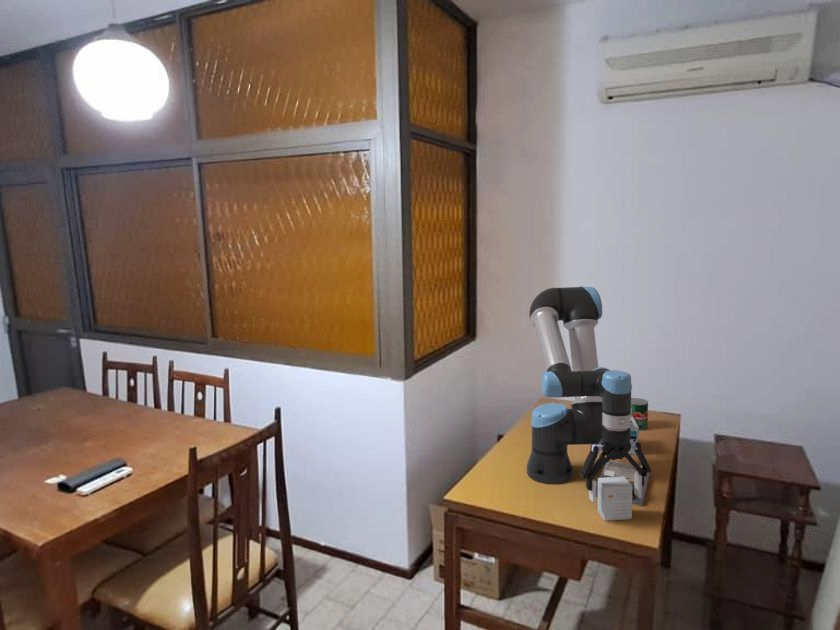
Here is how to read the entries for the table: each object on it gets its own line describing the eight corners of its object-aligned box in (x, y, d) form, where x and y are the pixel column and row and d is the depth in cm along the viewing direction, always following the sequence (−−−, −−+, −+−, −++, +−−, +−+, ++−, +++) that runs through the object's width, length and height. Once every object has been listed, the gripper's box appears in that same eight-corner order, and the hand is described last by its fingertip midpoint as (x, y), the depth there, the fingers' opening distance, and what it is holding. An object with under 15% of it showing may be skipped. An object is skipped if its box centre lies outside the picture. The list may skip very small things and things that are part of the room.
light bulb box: (638, 455, 190) (639, 426, 188) (618, 454, 191) (619, 426, 189) (633, 443, 200) (633, 415, 198) (614, 442, 201) (614, 415, 199)
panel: (642, 506, 157) (642, 493, 156) (593, 496, 163) (593, 484, 163) (649, 473, 176) (650, 462, 175) (605, 466, 182) (605, 455, 182)
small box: (623, 509, 155) (624, 475, 154) (632, 519, 150) (633, 485, 148) (596, 510, 155) (597, 477, 153) (604, 521, 150) (604, 486, 148)
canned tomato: (633, 422, 220) (634, 396, 218) (651, 427, 214) (652, 401, 212) (622, 426, 216) (623, 400, 214) (640, 432, 209) (640, 405, 207)
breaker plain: (611, 491, 163) (611, 486, 162) (601, 489, 164) (601, 484, 163) (615, 476, 168) (615, 471, 167) (605, 474, 170) (605, 469, 169)
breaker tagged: (636, 490, 159) (636, 484, 159) (625, 488, 160) (625, 482, 160) (638, 486, 165) (639, 480, 165) (628, 484, 166) (628, 478, 166)
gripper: (578, 435, 143) (578, 508, 146) (666, 427, 146) (663, 500, 149) (567, 425, 150) (567, 495, 154) (651, 418, 153) (649, 487, 156)
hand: (615, 498), depth 151 cm, fingers open, 13 cm apart
